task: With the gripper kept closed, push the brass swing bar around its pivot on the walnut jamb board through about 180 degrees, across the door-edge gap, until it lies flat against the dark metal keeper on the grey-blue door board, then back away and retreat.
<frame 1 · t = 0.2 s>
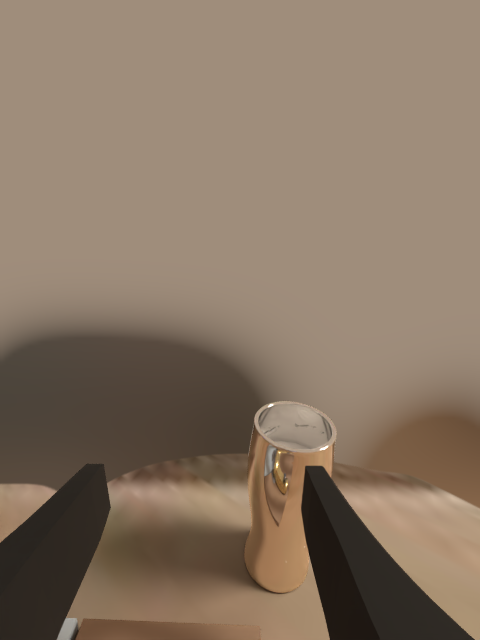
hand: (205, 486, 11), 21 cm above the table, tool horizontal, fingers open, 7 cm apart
beer glass: (275, 559, 30), on the table
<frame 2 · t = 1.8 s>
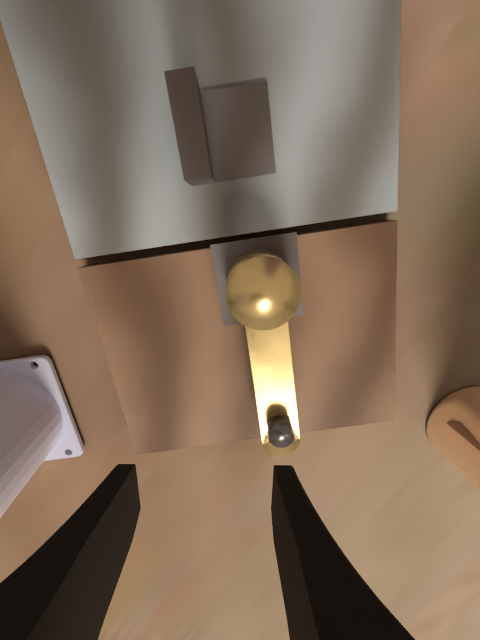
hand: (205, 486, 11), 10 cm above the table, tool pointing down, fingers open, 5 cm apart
door and jamb: (235, 246, 19), on the table
beer glass: (464, 419, 23), on the table
swing bar: (270, 361, 18), point 3 cm above the table, hinge at 0.0°
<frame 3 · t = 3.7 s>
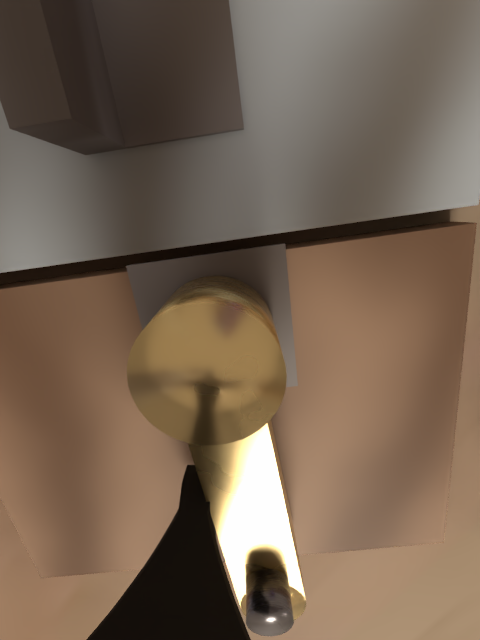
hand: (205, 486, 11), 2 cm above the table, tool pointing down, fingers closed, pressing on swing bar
door and jamb: (182, 265, 11), on the table
swing bar: (243, 477, 10), point 3 cm above the table, hinge at 4.0°, touching gripper
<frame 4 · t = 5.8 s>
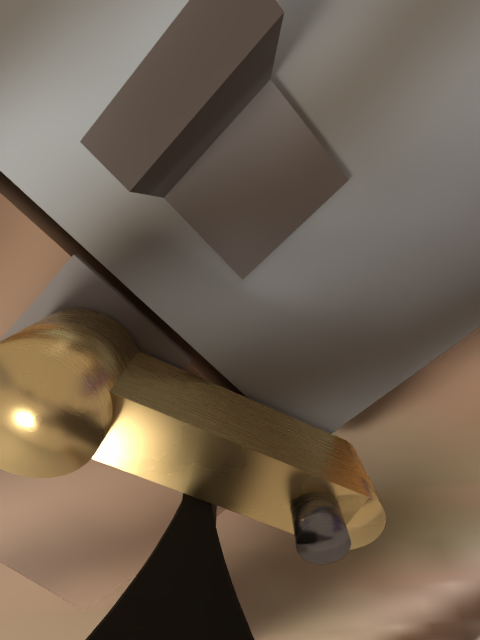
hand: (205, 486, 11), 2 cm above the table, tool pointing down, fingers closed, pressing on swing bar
door and jamb: (119, 286, 11), on the table
swing bar: (197, 445, 9), point 3 cm above the table, hinge at 110.3°, touching gripper
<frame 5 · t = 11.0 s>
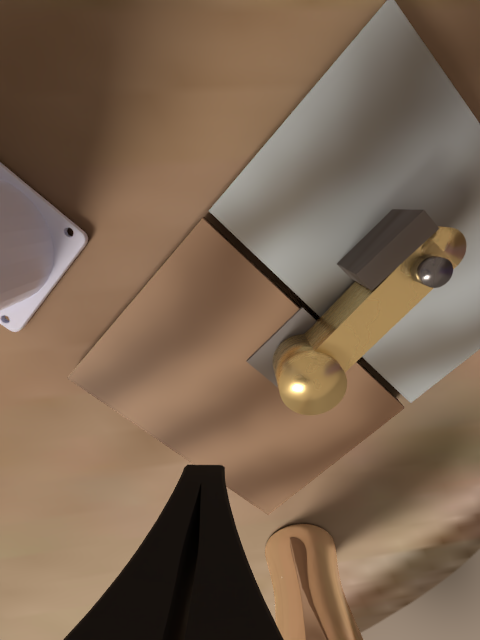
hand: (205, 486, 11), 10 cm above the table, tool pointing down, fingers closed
door and jamb: (308, 319, 20), on the table
beer glass: (298, 545, 28), on the table
swing bar: (361, 320, 17), point 3 cm above the table, hinge at 183.1°
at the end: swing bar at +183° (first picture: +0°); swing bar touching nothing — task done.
